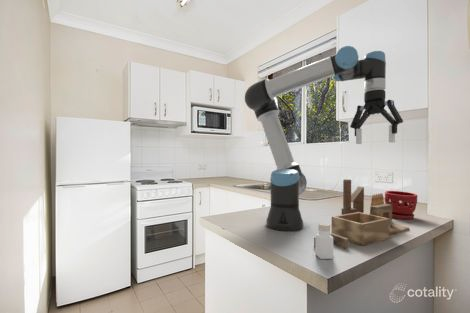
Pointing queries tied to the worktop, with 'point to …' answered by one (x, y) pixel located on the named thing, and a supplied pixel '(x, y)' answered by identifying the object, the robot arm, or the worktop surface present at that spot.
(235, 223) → the worktop surface
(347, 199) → the wooden block
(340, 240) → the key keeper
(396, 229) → the wooden post stand
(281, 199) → the robot arm
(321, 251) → the pepper shaker
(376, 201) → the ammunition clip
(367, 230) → the open wooden box
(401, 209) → the plant pot
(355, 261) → the worktop surface
